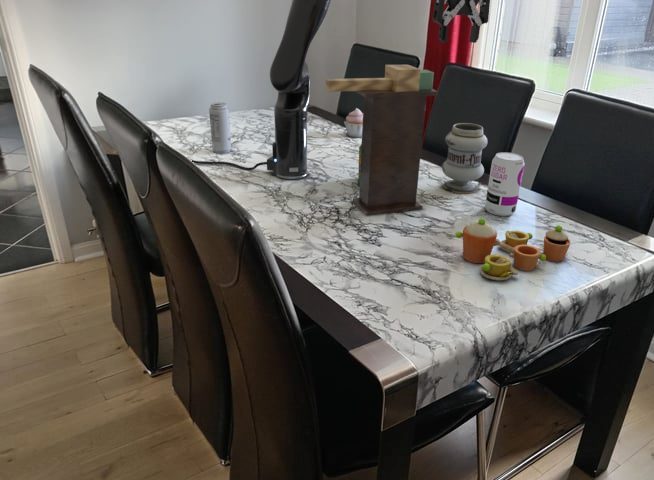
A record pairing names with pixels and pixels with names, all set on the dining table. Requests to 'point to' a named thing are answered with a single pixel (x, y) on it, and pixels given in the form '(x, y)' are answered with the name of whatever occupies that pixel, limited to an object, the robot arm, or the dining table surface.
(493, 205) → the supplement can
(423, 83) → the block
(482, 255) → the toy tea set
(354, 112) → the cupcake
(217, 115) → the energy drink can
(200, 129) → the dining table surface
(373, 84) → the mallet
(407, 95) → the stand
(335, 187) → the dining table surface
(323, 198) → the dining table surface
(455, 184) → the apothecary jar
